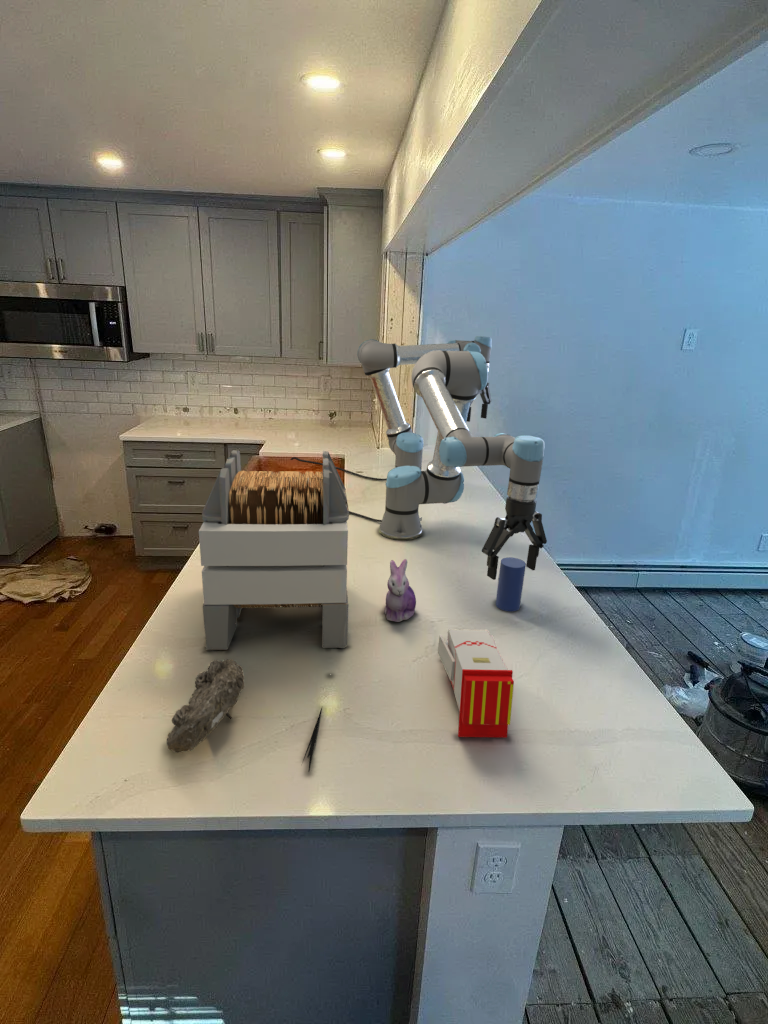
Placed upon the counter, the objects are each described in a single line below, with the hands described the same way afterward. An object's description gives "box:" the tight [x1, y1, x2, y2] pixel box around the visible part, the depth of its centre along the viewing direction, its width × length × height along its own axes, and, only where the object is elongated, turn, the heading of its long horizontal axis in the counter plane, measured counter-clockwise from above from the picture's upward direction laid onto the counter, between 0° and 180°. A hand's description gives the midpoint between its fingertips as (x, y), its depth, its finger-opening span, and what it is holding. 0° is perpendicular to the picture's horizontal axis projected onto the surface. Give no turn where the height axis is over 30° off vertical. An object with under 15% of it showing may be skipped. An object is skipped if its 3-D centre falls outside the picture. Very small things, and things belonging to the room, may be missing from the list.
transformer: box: [198, 449, 350, 651], centre depth 138 cm, size 34×33×41 cm
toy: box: [437, 628, 515, 738], centre depth 117 cm, size 12×13×30 cm
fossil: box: [166, 658, 245, 754], centre depth 106 cm, size 22×10×15 cm
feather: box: [301, 673, 332, 771], centre depth 108 cm, size 2×28×2 cm
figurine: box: [384, 558, 417, 623], centre depth 145 cm, size 9×10×15 cm
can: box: [495, 556, 527, 612], centre depth 152 cm, size 6×6×13 cm
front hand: (511, 572), depth 151 cm, fingers open, 13 cm apart
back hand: (475, 419), depth 261 cm, fingers open, 13 cm apart
